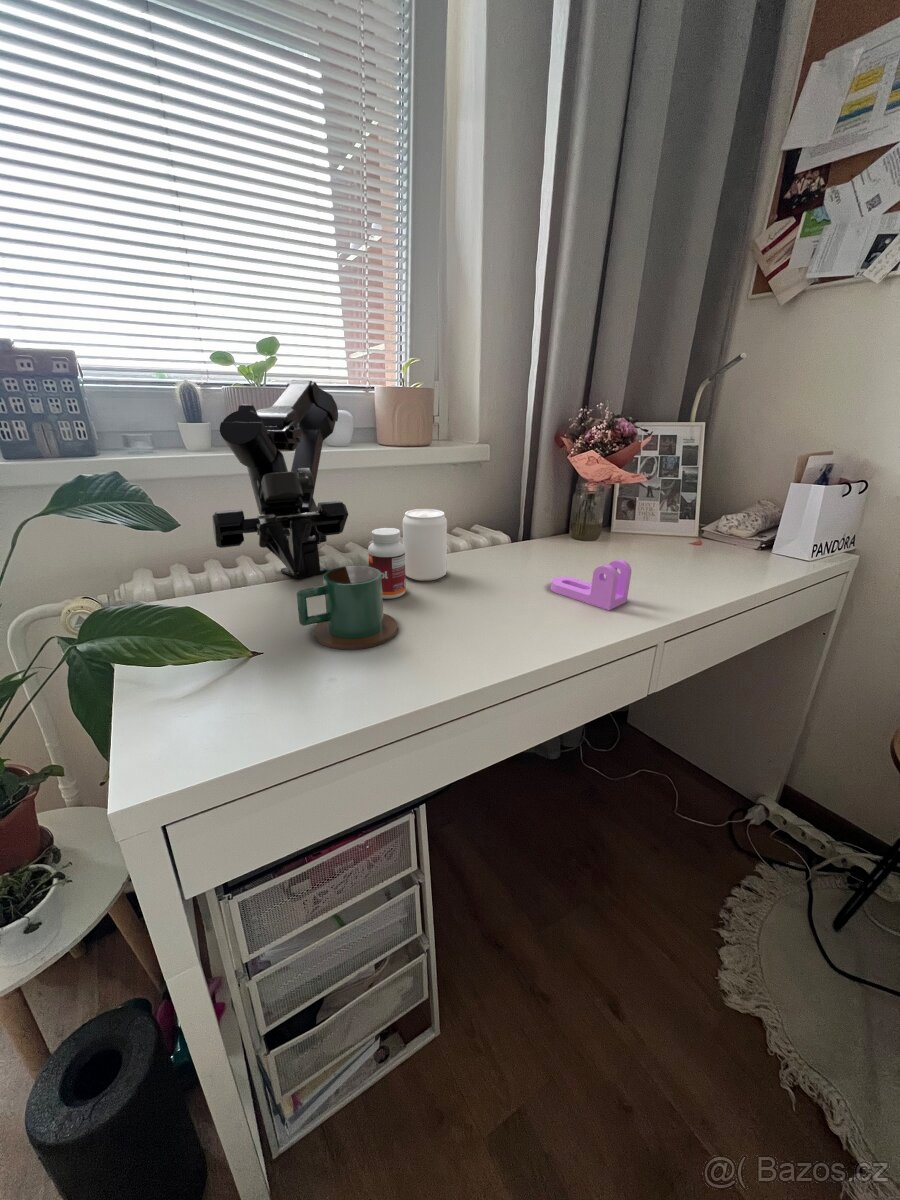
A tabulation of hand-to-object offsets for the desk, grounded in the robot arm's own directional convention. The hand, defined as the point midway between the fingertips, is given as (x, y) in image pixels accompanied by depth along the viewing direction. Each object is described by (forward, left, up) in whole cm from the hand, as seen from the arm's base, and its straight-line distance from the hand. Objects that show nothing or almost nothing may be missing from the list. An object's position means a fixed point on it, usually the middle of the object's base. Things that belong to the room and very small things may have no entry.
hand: (296, 573), depth 72 cm
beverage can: (-2, +28, -8) cm, 30 cm away
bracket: (+25, +40, -8) cm, 48 cm away
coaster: (+8, +4, -8) cm, 12 cm away
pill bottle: (0, +17, -8) cm, 19 cm away
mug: (+7, +2, -7) cm, 10 cm away
